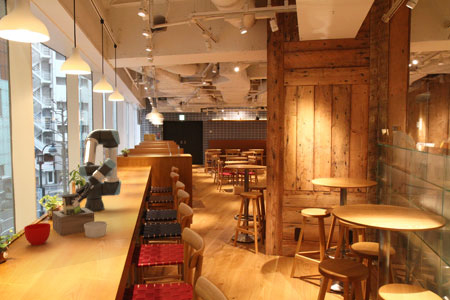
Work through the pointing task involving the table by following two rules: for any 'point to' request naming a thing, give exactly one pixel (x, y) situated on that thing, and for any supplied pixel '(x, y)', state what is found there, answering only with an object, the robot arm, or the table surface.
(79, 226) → the brown square bin
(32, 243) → the ceramic cup
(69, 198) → the coffee can
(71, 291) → the table surface
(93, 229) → the ramekin
